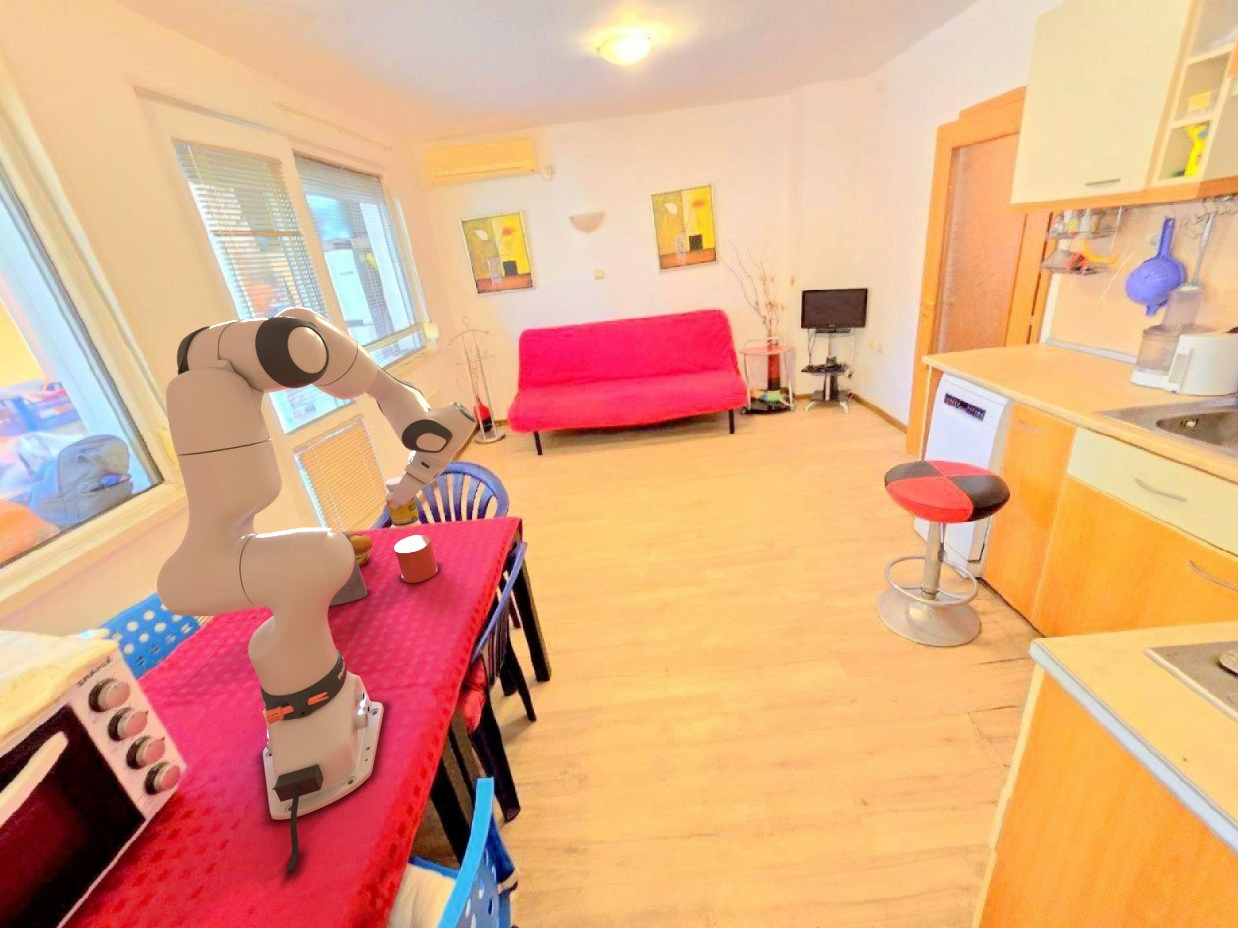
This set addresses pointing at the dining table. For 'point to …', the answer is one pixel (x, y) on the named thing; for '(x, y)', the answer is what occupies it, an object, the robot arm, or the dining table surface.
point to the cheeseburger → (361, 547)
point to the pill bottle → (401, 507)
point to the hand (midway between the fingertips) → (398, 500)
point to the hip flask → (351, 585)
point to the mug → (416, 558)
